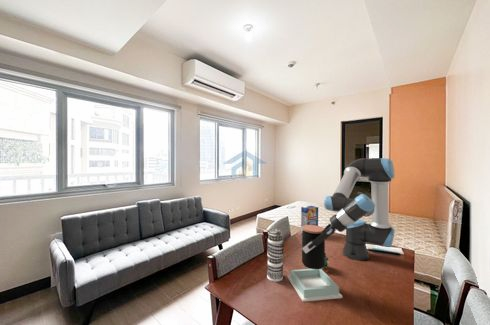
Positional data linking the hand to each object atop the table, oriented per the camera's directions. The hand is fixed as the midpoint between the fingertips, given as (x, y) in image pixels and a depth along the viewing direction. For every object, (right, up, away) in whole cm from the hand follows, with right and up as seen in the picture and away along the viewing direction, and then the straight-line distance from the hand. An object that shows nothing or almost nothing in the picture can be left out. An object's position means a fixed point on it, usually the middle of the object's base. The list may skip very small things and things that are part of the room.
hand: (307, 246), depth 103 cm
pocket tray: (+2, -19, -1) cm, 20 cm away
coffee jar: (+2, -8, -2) cm, 9 cm away
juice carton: (+23, -20, +70) cm, 76 cm away
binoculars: (+12, -20, +16) cm, 28 cm away
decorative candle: (-15, -19, +7) cm, 26 cm away
